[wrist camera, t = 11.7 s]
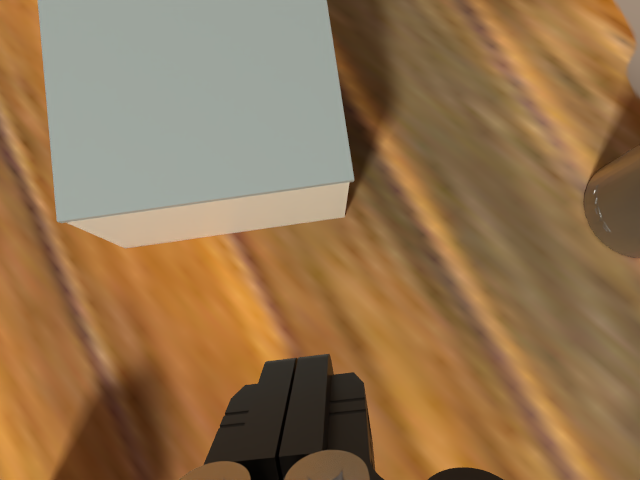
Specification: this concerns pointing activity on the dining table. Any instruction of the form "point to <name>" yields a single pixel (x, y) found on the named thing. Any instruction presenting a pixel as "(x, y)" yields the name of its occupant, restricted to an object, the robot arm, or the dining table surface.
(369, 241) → the dining table surface
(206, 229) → the storage box
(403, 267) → the dining table surface
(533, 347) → the dining table surface
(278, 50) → the lid
